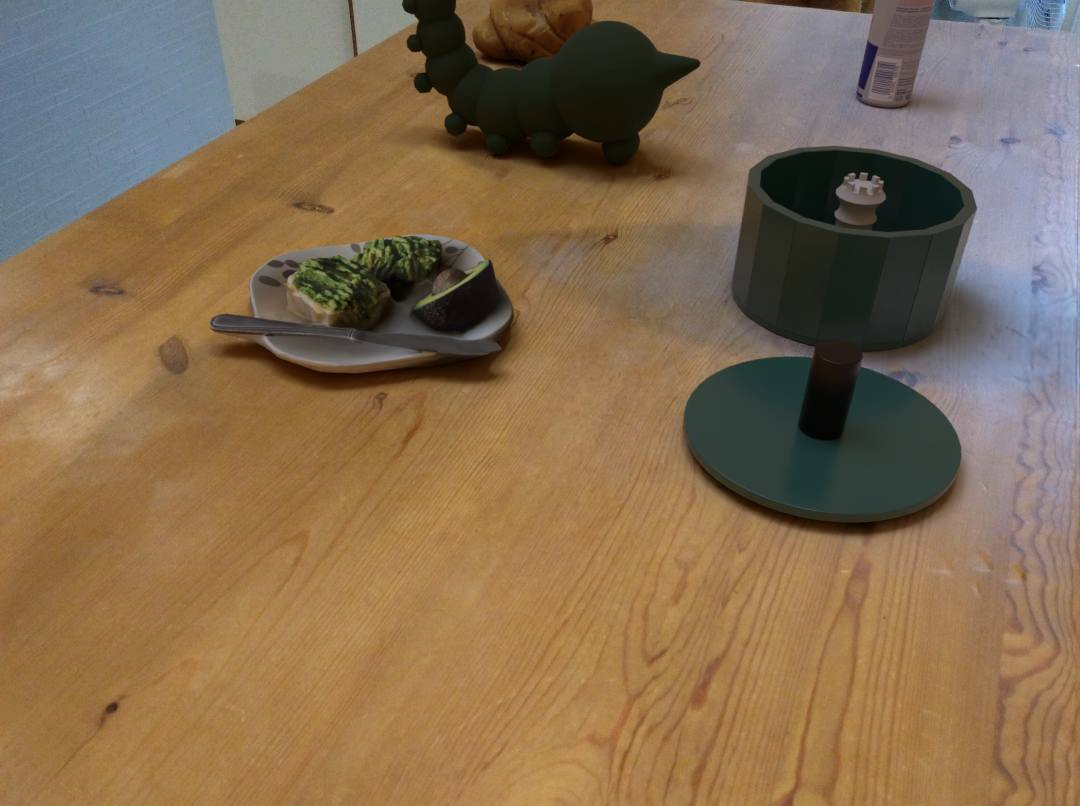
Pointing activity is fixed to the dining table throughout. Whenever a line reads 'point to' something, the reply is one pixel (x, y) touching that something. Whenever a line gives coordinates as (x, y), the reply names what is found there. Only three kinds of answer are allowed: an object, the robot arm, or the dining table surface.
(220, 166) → the dining table surface
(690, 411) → the lid
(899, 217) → the pot
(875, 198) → the rook chess piece
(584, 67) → the toy figurine
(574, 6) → the bread roll
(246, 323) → the avocado toast plate
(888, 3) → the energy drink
